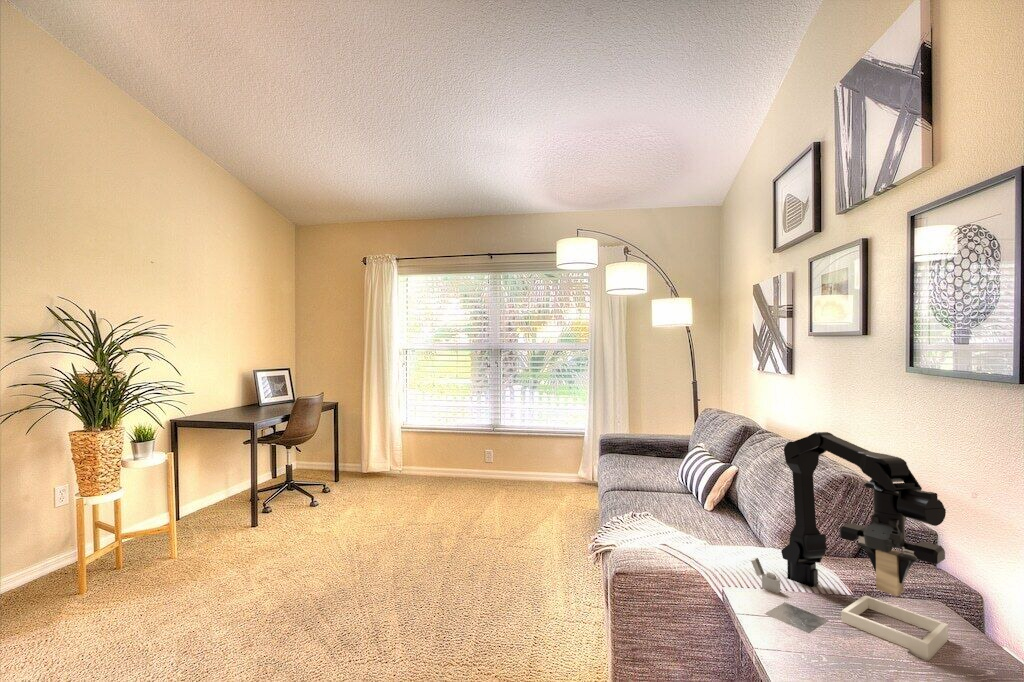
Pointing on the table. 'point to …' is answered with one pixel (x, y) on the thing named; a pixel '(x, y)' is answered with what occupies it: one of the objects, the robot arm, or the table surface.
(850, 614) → the rectangular frame
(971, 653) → the table surface
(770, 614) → the base plate
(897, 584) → the strut
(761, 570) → the lighter
